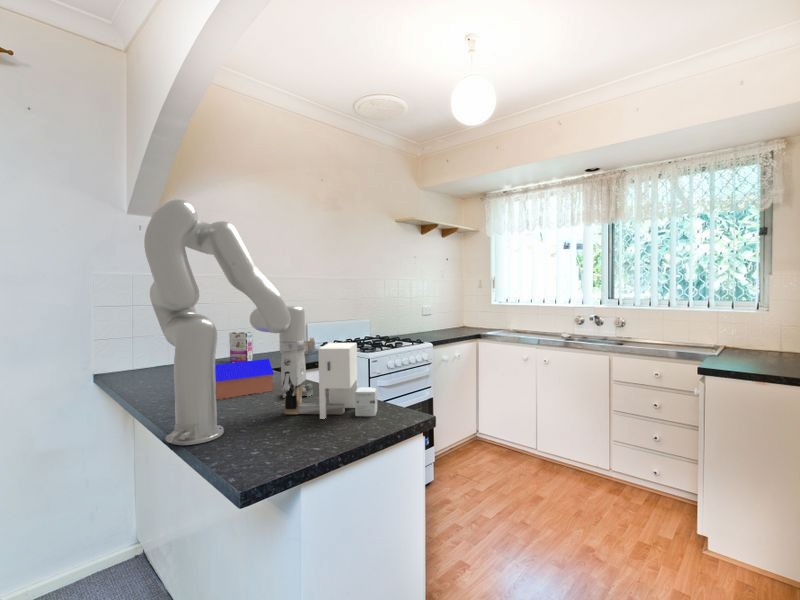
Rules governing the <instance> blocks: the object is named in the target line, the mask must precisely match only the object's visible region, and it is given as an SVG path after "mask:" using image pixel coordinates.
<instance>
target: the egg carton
mask: <svg viewBox="0 0 800 600" xmlns="http://www.w3.org/2000/svg"><path fill="white" fill-rule="evenodd" d="M301 385H302V396H307V397H306V398H309V397H308V396H310V397H312V396H311V395H313V391H314V387H313V384H312V383H308V384H301ZM283 388H284V387H282V388H281V393H282V398H285V395H284V389H283Z"/></svg>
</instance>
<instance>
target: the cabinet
mask: <svg viewBox="0 0 800 600" xmlns="http://www.w3.org/2000/svg"><path fill="white" fill-rule="evenodd" d="M357 343H358V342H328V343H326V344H324V345H323V346H321V347H319V348H318V385H319V387H318V389H319V390H318V391H319V392H318V394H319V395H318V396H319V398H318V399H319V403H320V414H319V420H320V419H325V418H326V419H327V414H326V403H327V395H326V394H327V390H326V389H328V403H329V404H345V409H355V392H356V390H357V389H358V386H359V385H358V344H357ZM326 419H325V420H326Z"/></svg>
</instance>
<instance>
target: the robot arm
mask: <svg viewBox="0 0 800 600" xmlns="http://www.w3.org/2000/svg"><path fill="white" fill-rule="evenodd" d="M198 217H199V216H198V213H197V210H196V208H195V207H194V206H193V204H191V202H188V201H186V200H184V199H172V200H169V201H167V202H165V203H164V204H162V205H161V206H160V207H159V208H157V209H156V210H155V211H154V212H153V214H152V215H151V217H150V220H149V222H148V224H147V227H146V230H145V233H144V239H143V243H144V244H143V245H144V253H145V257H146V260H147V263H148V266H149V269H150V273H151V275H152V278H153V283H152V284H151V286H150V288H149V298H150V302H151V305H152V308H153V311H154V313H155V316H156V319H157V321H158V324H159V328H160V329H161V332H162V333H163V336H164V338H165V339H166V341H167V342H168V343H169V344H170V345H171V346H173V347H175V348H174V357H173V358H174V359H173V379H174V380H173V381H174V383H173V384H174V414H175V415H174V417H175V418H174V420H175V424H174V427H173V428H174V430H173V431H172V432H170V433H169V434H167V435H166V436H165V441H166V442H167V443H170V444H172V445H175V446H176V445H177V446H193V445H198V444H199V445H200V444H204V443H208V442H210V441H214V440H216V439H219V438H221V436H222V435H223V434H224V432H225V431H224V427H223V425H220V424H218V419H217V418H218V415H217V414H218V413H217V411H218V410H217V399H216V374H215V365H216V354H217V346H218V344H217V343H218V329H217V327H216V325H215V323H214V322H213V320H211V319H210V318H208V317H207V316H205V315H202V314H199V313H197V310H196V308H195V306H196V305H197V303H198V302H199V299H200V290H199V289H200V288H199V286H198V284H197V281H196V278H195V276H194V274H193V270H192V268H191V266H190V262H189V259H188V256H187V251H186V248H189V249H191V250H194V251H197V252H200V253H201V254H202V253H203V254H206V255H211V256H213V257H214V258H215V260H216V262H217V263H218V265H219V267H220V269H221V270H222V272H223V274H224V275H225V277H226V278H227V280H228V283H229V284H230V285H232V287H234V288H235V289H236V290H238V291H239V292H241V293H242V294H244V295H245V296H247V298H249V299H250V301H252V303H253V304H254V306H255V307H256V308H254V309H253V310H252V312H251V313H250V316H249V323H250V326H251V327H252V328H254V330H256V331H259V332H262V333H263V332H264V333H271V334H278V335H279V336H278V337H279V340H278V341H279V353H281V361H280V362H281V363H280V374H281V375H280V377H281V378H280V380H281V381H280V382H281V385H282V386H283V387H282V388H283V389H284V391H285V399H284V407H285V406H286V409H296V408H297V401H296V395H295V387H296V386H298V385H302V383H304V382H305V381H306V379H307V369H306V357H305V355H306V354H304V351H305V341H306V328H305V327H306V325H305V323H306V320H305V318H306V316H305V309H304V307H302V306H300V305H298V306H297V305H288V306H287V304H286V303H285V302H286V301H284V299H283V297H282V295H281V294H280V292H279V291H278V289H277V287H275V286H274V285H273V284H272V282H271V281H270V280H269V279H268V278H267V277H266V276H265V274H264V273H262V272H261V270H260V269H259V267H258V266H257V264H256V262H255V261H254V259H253V257H252V255H251V253H250V252H249V249H248V247H247V245H246V243H245V242H244V240H243V238H242V236H241V234H240V232H239V230H238V229H237V228H236V227H235V225H234V224H233V223H231V222H228V221H225V220H224V221H223V220H222V221H220V220H219V221H215V222H213V223H208V222H204V221H203V220H200V219H199V218H198ZM290 387H293V388H292V389H291V388H290Z"/></svg>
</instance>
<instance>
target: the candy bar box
mask: <svg viewBox="0 0 800 600" xmlns="http://www.w3.org/2000/svg"><path fill="white" fill-rule="evenodd" d="M228 335H229V363H230V362H244V361H254V359H253V358H254V357H253V332H252V331H231V332H229V334H228Z"/></svg>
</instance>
